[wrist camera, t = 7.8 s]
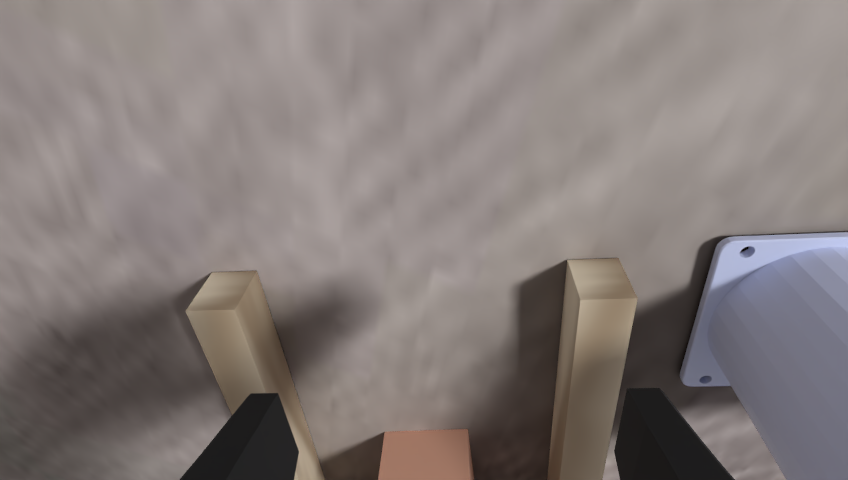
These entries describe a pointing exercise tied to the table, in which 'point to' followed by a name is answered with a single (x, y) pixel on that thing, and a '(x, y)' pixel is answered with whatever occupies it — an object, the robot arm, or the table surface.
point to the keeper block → (426, 455)
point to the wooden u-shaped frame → (576, 373)
